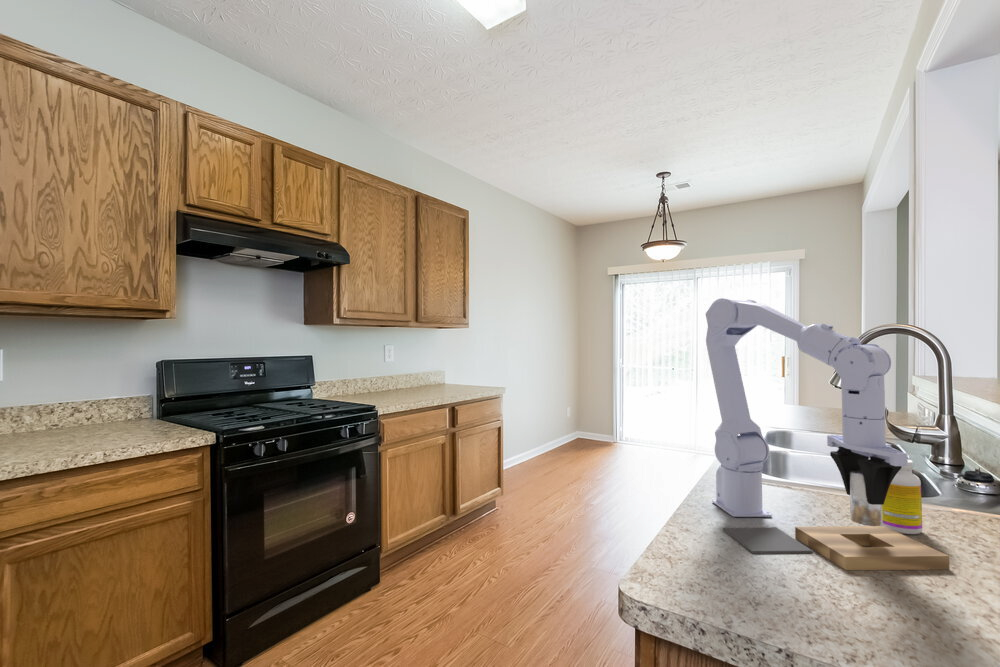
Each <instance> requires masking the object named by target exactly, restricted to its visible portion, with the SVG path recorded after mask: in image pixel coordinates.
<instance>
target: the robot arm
mask: <svg viewBox="0 0 1000 667" xmlns="http://www.w3.org/2000/svg"><path fill="white" fill-rule="evenodd" d="M705 318H706V323H707V331H706V338H705V343H706V349H707V354H708V359H709V363H710V364H709V365H710V368H711V374H712V378H713V382H714V387H715V388H714V389H715V393H716V398H717V403H718V408H719V413H720V417H721V418H720V419H721V423H720V424H719V426H718V427H717V429H716V430H715V431H714V435H715V444H714V455H715V458H716V460H717V461H718V462H719V464H720V465H719V466H718V468H717V469H716V474H715V486H716V487H715V489H716V490H715V494H716V496H715V497H716V499H712V503H713V504H715V505H716V506H718V507H719V508H720V509H721V510H723V511H725V512H726V513H728V514H729V515H730V516H732V517H734V518H737V517H738V518H754V517H755V518H757V517H758V518H759V517H761V518H763V517H766V518H767V517H768V518H771V517H773V514H772V513H771V512H769V511H768V510H766V509H765V508H764V507H763V474H762V473H763V472H762V471H763V468H764V462H766V461H767V459H768V458H769V456H770V447H769V443H768V442H767V440H766V439H765V438H764V436H763V434H762V430H761V427H760V426H759V425H758V424H757V423H756V422H755V421H753V419H752V418H751V415H750V414H751V413H750V409H749V405H748V401H747V396H746V391H745V387H744V383H743V377H742V374H741V369H740V364H739V359H738V354H737V350H736V345H737V344H738V343H739V341H740V340H741V339H742V338H743V337H745V336H746V335H747V334H749V333H750V332H752V331H753V330H754V329H755V328H756V327H758V326H761V327H763V328H766V329H767V330H770V331H772V332H775V333H776V334H779V335H782V336H784V337H785V338H789V339H791V340H793V341H795V342H796V343H797V348H798V350H800V352H801V353H803V354H806V355H808V356H810V357H812V358H814V359H815V360H817V361H820V362H822V363H824V364H826V365H827V366H830V367H832V368H834V371H835V372H836V374H837V376H839V377H840V381H841V382H840V385H841V386H840V387H841V430H842V431H841V432H842V433H841V434H842V435H838V434H836V435H834V434H828V435H826V436H827V437H826V438H827V439H826V440H827V441H826V443H827V446H828V447H831V448H838V449H837V451H834V450H833V451H830V454H829V455H830V457H831V458H832V460H833V461H834V463H835V465H836V467H837V469H838V471H839V473H840V476H841V479H842V482H843V486H844V489H845V491H846V494H847V495H848V496H850V470H861V471H862V473H863V477H864V481H865V488H866V497H867V501H868V503H869V504H872V505H883V504H884V502H885V498H886V495H887V492H888V489H889V486H890V484H891V482H892V480H893V478H894V477H895V475H896V474H897V473H898V472H899V470H900V469H901V466H908V460H909V459H908V453H907V452H904V451H900V450H899V449H896V448H893V447H892V444H891V443H887V441H886V438H887V437H886V436H887V434H886V433H887V432H886V398H885V397H886V390H885V375H886V374H888V372H889V371H890V369H891V366H892V360H891V357H890V355H889V353H888V352H887V350H885V349H883V348H882V347H880V346H879V345H878V344H874V343H866V344H861V342H860V341H861V338H859V337H857V336H851V337H849V336H847V335H845V334H843V333H840V332H839V331H836V330H834V326H833V325H831V324H829V323H822V324H820V323H814V324H810V325H805V324H804V323H802V322H800V321H798V320H796V319H794V318H792V317H790V316H788V315H786V314H784V313H782V312H780V311H778V310H777V309H774V308H772V307H771V306H769V305H767V304H765V303H761V302H757V301H756V300H754V299H753V300H752V299H745V300H743V299H733V298H732V299H730V298H724V297H722V298H721V297H720V298H717V299H716V300H714V301H713V302H712V303H711V305H710V306H709V308H708V310H707V311H706V312H705Z"/></svg>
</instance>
